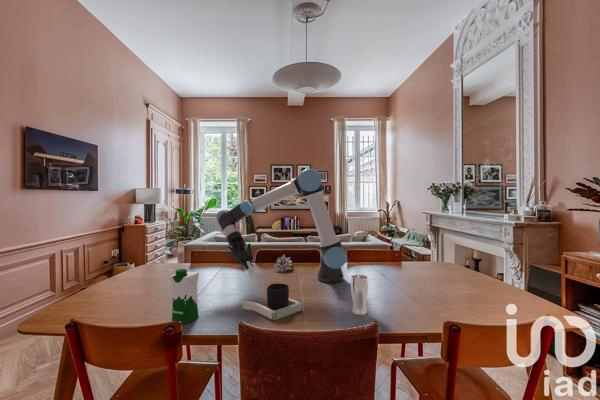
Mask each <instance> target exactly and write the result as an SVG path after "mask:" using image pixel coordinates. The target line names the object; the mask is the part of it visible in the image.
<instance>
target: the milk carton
mask: <svg viewBox="0 0 600 400" xmlns="http://www.w3.org/2000/svg"><path fill="white" fill-rule="evenodd" d="M199 277H200V272H196V271H195V272H193V271H188V269H187V268H186V269H185V268H181V269H176V270H175V274H172V275H170V276H169V278H170V281H171V287H172V288H171V289H172V290H171V292H172V295H171V296H172V313H171V322H172V321H181V322H182V323H181V324H183V325H188V324H190V323H191V322H193V321H195V320H196V319H198V318H200V317H199V309H198V282H199Z"/></svg>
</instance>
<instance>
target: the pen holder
mask: <svg viewBox="0 0 600 400" xmlns="http://www.w3.org/2000/svg"><path fill="white" fill-rule="evenodd" d="M289 293H290V287H289V285H288V284H286V283H279V282H278V283H272V284H269V285H268V286H267V288H266V303H267V304H266V305H267V308H270V309H272V310H274V311H275V310H278V309H281V308H284V307H287V306H288V300H289V298H290V297H289V295H290V294H289Z"/></svg>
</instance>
